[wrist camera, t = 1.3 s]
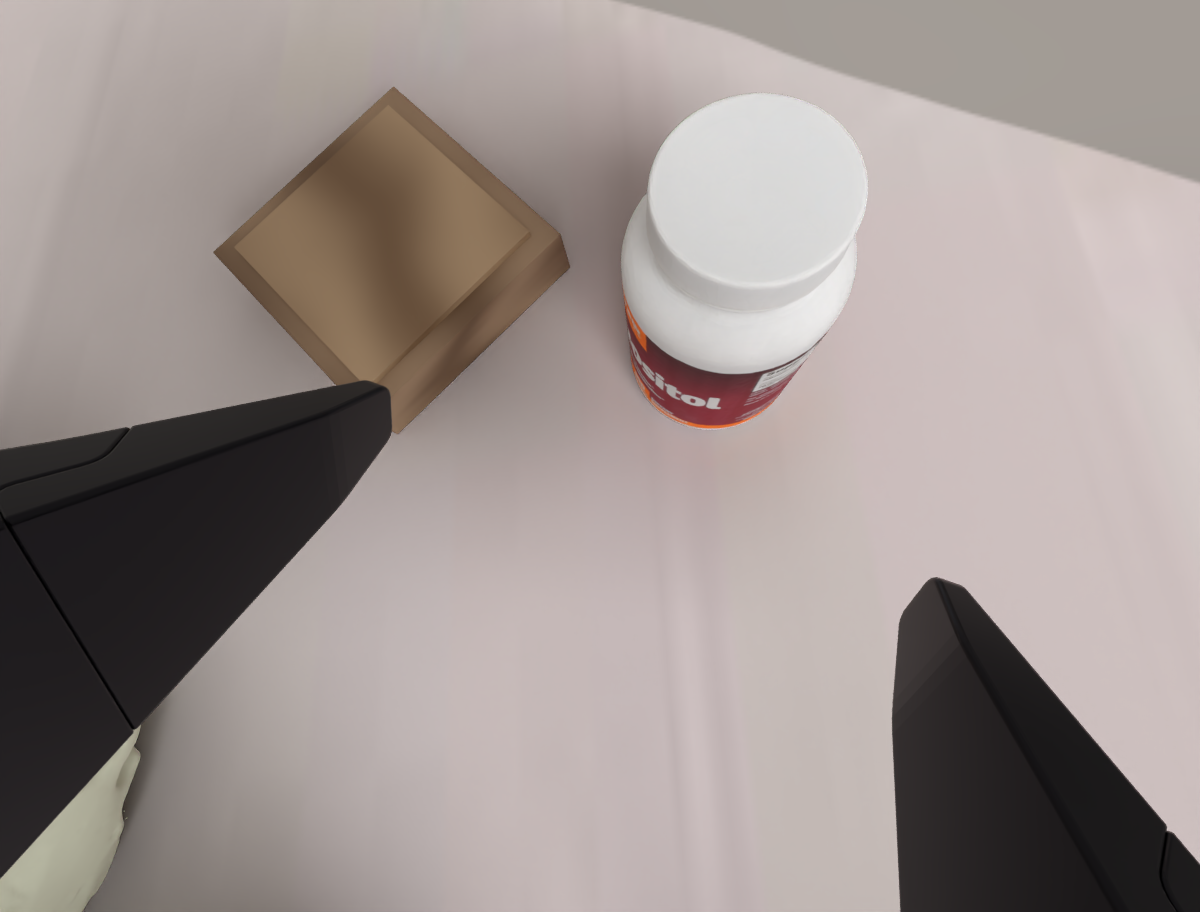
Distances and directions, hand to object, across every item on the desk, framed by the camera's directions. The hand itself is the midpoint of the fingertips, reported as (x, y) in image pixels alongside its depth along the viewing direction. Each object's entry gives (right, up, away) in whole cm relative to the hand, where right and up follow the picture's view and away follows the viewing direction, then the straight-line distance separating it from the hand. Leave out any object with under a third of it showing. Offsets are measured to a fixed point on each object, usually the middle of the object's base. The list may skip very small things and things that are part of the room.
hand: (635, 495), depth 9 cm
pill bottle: (+4, +4, +14) cm, 15 cm away
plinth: (-9, +9, +16) cm, 20 cm away
